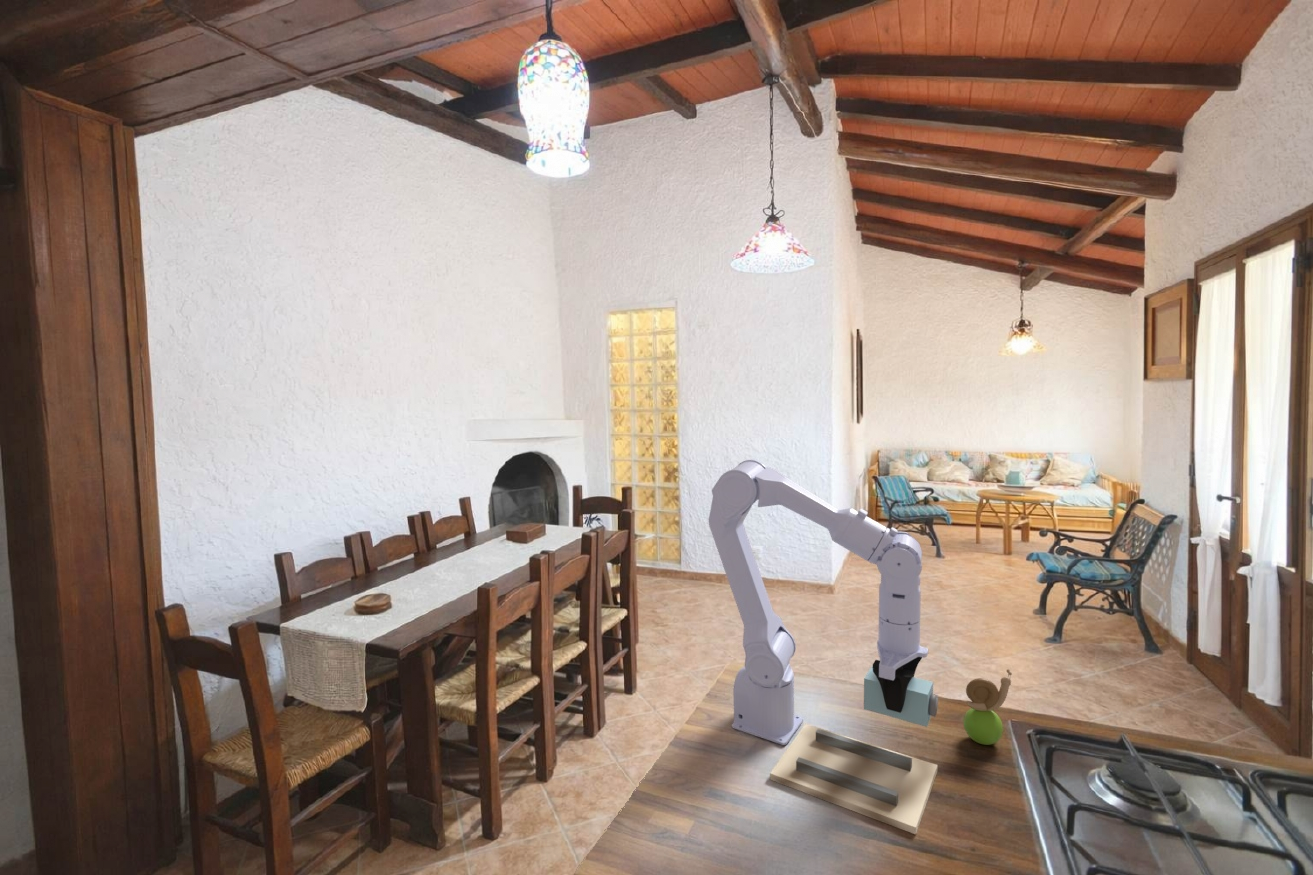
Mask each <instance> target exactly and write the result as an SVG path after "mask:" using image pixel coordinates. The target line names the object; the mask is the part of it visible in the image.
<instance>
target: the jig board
mask: <svg viewBox="0 0 1313 875" xmlns="http://www.w3.org/2000/svg"><path fill="white" fill-rule="evenodd" d="M938 766H939V765H938V764H936V763H932V762H929V761H926V760H922V759H919V758H916V757H913V756H911V755H907V754H905V753H904V754H903V753H901V752H897V751H894V750H891V749H887V748H885V747H882V746H878V745H874V744H872V743H869V742H865V741H862V740H859V739H856V738H852V737H850V736H846V735H843V734H841V733H836V732H833V731H831V730H827V729H824V728H821V727H817V726H814V725H811V724H808V723H805V724H804V725H803V727H802V728H801V729H800V731H799V732H798V734H797V735H796V736H795V738H794V739H793V740H792V742H791V743H790V744H789V746H788V747H787V748H786V750H785V751H784V753H783V754H782V756H781V757H780V758H779V760H778V761H777V762H776V764H775V765H774V767H773V768H772V770H771V771H770V772H769V779H770V781H773V782H776V783H778V784H782V785H784V786H786V787H788V788H789V787H790V788H791V789H794V790H796V791H799V792H801V793H804V794H808V795H810V796H813V797H815V798H818V799H821V800H824V801H825V802H828V803H832V804H834V805H837V806H839V807H842V808H845V809H847V810H850V811H853V812H855V813H858V814H860V815H863V816H866V817H868V818H871V819H873V820H877V821H879V822H882V823H884V824H887V825H889V826H891V827H895V828H897V829H900V830H903V831H906V832H907V833H908V832H909V833H910V834H914V835H917V833H918V830H919V828H920V824H921V821H922V818H923V815H924V812H925V809H926V806H927V803H928V800H929V798H930V794H931V791H932V788H933V785H934V783H935V779H936V776H937V773H938V770H939V769H938V768H939V767H938Z"/></svg>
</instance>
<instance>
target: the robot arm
mask: <svg viewBox="0 0 1313 875" xmlns="http://www.w3.org/2000/svg"><path fill="white" fill-rule="evenodd" d="M711 494H712V499H711V505H710V510H709V511H710V512H709V516H708V525H709V529H710V531H711V535H712V537H713V540H714V543H715V547H716V549H717V553H718V555H719V558H720V560H721V561H720V562H721V563H722V566H723V569H724V571H725V576H726V579H727V582H728V584H729V587H730V590H731V592H732V595H733V598H734V601H735V603H736V607H737V611H738V612H739V615H740V618H741V621H742V623H743V624H742V625H743V633H742V635H743V637H742V647H743V649H744V650H743V651H744V653H745V654H744V656H745V658H744V666H742V667H741V668H740V669H739V670H738V672H737V673H736V676H735V679H734V682H733V693H732V694H733V695H732V696H733V723H732V724H731V726H732V728H733V729H735V730H737V731H740V732H743V733H746V734H749V735H752V736H756V737H759V738H762V739H764V740H767V741H770V742H773V743H776V744H779V745H781V746H785V745H787V744H788V743H789V741H790V740H791V739H792V737H793V736H794V735H795V734H796V732H797V731H798V729H799V728H800V726H801V725H802V724H803V722H804V718H803V717H802V716H798V715H796V714H795V680H794V679H795V678H794V677H795V674H794V671H793V669H792V667H791V664H790V661H791V659H792V658H793V656H795V653H796V649H797V646H796V644H797V643H796V641H795V638H794V636H793V634H792V633H791V632H790V631H789V630H788V629H787V628H786V626H785V625H784V622H783V620H782V618H781V617H780V616H779V615H778V614H776V613H775V612H774V609H773V606H772V604H771V600H770V598H769V595H768V591H767V589H766V586H765V583H764V581H763V577H762V574H761V572H760V569H759V566H758V562H757V560H756V557H755V554H754V552H753V549H752V546H751V543H750V540H749V538H748V534H747V531H746V529H745V526H744V520H745V519H746V517H747V516H748V514H749V512H750V510H751V508H752V506H753V505H754V504H755V503H756V501H757V508H763V507H772V506H778V505H779V506H782V507H784V508H786V509H788V510H790V511H792V512H794V513H796V514H798V515H799V516H802V517H804V518H806V519H807V520H810V521H812V522H814V523H815V524H817V525H819V526H822V527H823V528H825V529H827V531H828V532H829V535H830V538H831V540H832V541H833V542H834V543H836V544H838V545H839V546H841V547H842V548H844V549H846V550H848V551H849V552H851V553H853V554H855V555H856V556H858V557H860V558H862V559H863V560H865V561H867V562H869V563H870V564H873V565H876V567H877V570H878V572H879V573H880V583H879V585H878V640H877V641H876V648H877V654H878V659H879V660H878V659H875V660H874V661H873V662H872V667H873V672H874V674H875V675H876V677H877V679H878V681H879V683H880V685H881V688H882V692H883V697H884V701H885V705H886V708H887V709H888V710H892V711H896V712H899V713H901V711H902V709H903V706H904V702H905V696H906V691H907V687H908V684H909V682H910V680H911V679H912V677H915V673H916V670H917V668H918V666H919V663H920V662H921V660H922V659H923V658H927V657H928V656H929V655H928V654H929V648H928V647H925V646H921V642H920V640H921V636H920V635H921V605H922V604H921V595H922V589H921V587H920V585H921V576H920V575H921V573H922V569H923V565H922V559H923V558H922V557H923V551H922V548H921V545H920V542H919V541H918V540H917V539H916V538H915V537H914V536H912V535H911V534H910V533H909V532H906V531H901V530H899V531H898V529H896V528H895V527H893V526H892V527H891V528H889V527H887V526H885V525H883V524H882V523H879V522H878V521H876V520H874V519H872V518H871V517H869V516H868V514H869V512H868V511H867V510H865V509H863V508H859V509H858V510H856V509H854V508H853V507H849V508H845V509H838V508H837V507H835V506H833V505H832V504H830V503H829V502H827V501H825V500H823V499H822V498H820V497H819V496H817V495H815V493H812V492H811V491H809V490H808V489H805V488H804V487H803V486H801V485H800V484H798V483H796V482H795V481H793V480H791V479H790V478H789V477H786V476H785V475H783V473H781V472H779V471H778V470H777V469H775V468H773V467H771V466H767V467H766V465H765V464H763V463H762V462H761V461H758V460H757V459H746V460H743V461H741V462H740V463H738V464H737V466H735V467H733V468H731V469H730V470H727V471H725V472H723V474H721V475H720V477H719V478H718V480H717V482H716V483H715V484H714V486H713V488H712V489H711Z"/></svg>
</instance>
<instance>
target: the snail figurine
mask: <svg viewBox="0 0 1313 875" xmlns="http://www.w3.org/2000/svg"><path fill="white" fill-rule="evenodd" d="M1006 673H1007V675H1008V676H1002V677H1001V679H1000V686H999V689H998V687H997V685H996V684H995V683H994V682H993V681H991V680H990V679H987V678H984V677H978V678H974V679H972V680H970V681H969V682H968V683H967V685H966V688H965V693H966V696H967V698H968V699H969V700H966V701H965V702H966V703H965V704H966V705H967V706H968V707H969V709H968V710H967V711H966V712H965V714H964V717H963V727H964V730H965V732H966V734H967V735H968V737H969V738H970V739H972V740H973V741H974V742H976V743H978V744H979V745H984V746H985V745H986V746H989V745H991V746H992V745H994V744H995V743H997V742H999V741H1000V740H1001V738H1002V736H1003V733H1004V726H1003V722H1002V720H1001V718H1000V716H999V715H998V714H997V713H996V712H995V711H993V710H996V709H999V708H1001V707H1002V706H1003V704H1004V703H1005V701H1006V698H1007V696H1008V693H1009V689H1010V688H1009V687H1010V686H1011V682H1012V680H1011V678H1010V676H1012V675H1013V673H1012V671H1011V669H1009V668H1007V669H1006Z"/></svg>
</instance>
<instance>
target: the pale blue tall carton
mask: <svg viewBox="0 0 1313 875" xmlns="http://www.w3.org/2000/svg"><path fill="white" fill-rule="evenodd" d="M938 706H939V695H938V694H934V681H931V680H927V679H923V678H919V677H915V676H914V677H912V679H911V680H910V682H909V684H908V687H907V691H906V696H905V702H904V706H903V709H902V711H901V713H899V712H896V711H892V710H888V709H887V708H886V705H885V701H884V697H883V692H882V688H881V685H880V683H879V681H878V679H877V677H876V675H875V674H874V672H873V666H871V667H870V668H869V670H868V671H867V673H866V674H865V676H864V677H863V710H866V711H869V712H872V713H877V714H880V715H883V716H888V717H890V718H894V719H897V720H901V721H904V722H907V723H908V722H909V723H912V724H916V725H918V726H923V727H925V728H928V725H929V723H930V720H931V718H932V717H936V715H937V712H938Z"/></svg>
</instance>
